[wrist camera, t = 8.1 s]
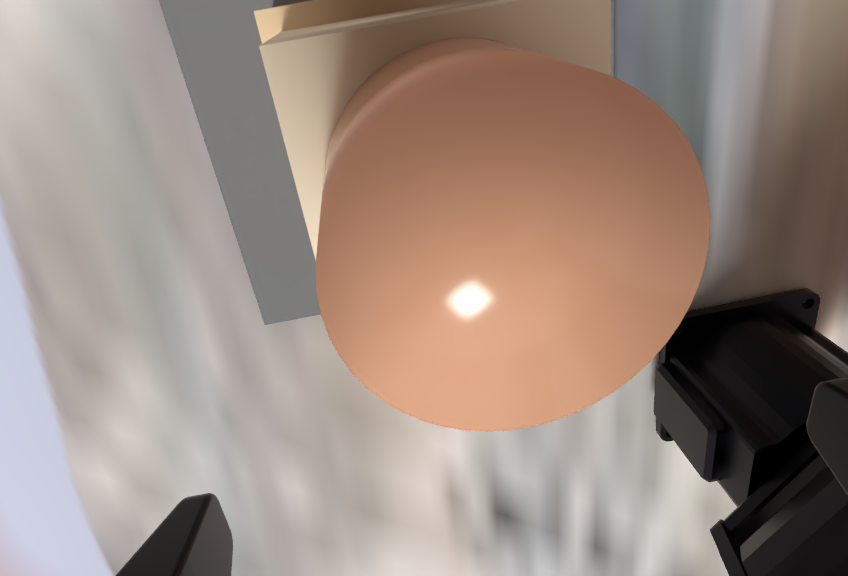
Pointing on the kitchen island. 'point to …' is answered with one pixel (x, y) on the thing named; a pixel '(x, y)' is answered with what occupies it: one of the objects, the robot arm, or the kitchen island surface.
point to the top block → (390, 37)
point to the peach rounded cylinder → (504, 234)
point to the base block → (328, 13)
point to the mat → (250, 147)
